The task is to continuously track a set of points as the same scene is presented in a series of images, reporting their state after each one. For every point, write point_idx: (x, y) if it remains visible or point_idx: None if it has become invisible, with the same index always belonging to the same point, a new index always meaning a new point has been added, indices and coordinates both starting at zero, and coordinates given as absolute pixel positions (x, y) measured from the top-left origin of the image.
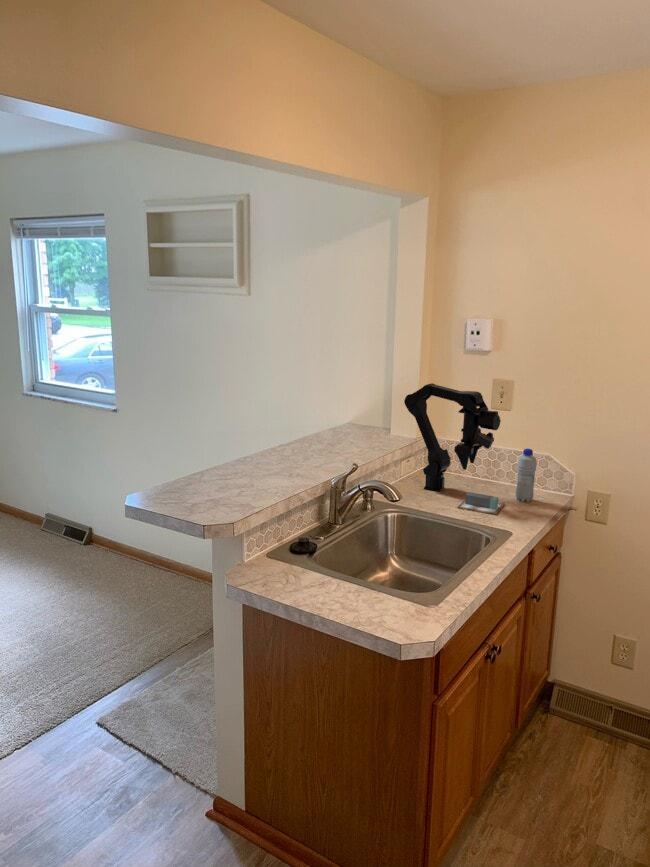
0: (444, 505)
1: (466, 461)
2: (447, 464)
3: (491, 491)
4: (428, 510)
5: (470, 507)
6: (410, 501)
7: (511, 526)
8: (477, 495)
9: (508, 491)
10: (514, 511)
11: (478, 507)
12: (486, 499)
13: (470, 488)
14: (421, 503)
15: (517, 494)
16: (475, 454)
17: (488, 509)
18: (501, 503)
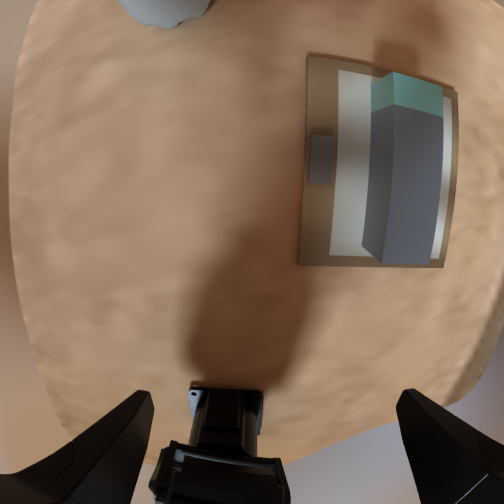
0: (420, 321)
1: (479, 440)
2: (213, 481)
3: (113, 178)
4: (468, 342)
5: (439, 212)
6: None
7: (500, 50)
8: (421, 198)
9: (77, 105)
10: (369, 16)
11: None
12: (439, 139)
13: (129, 287)
14: (414, 386)
15: (200, 3)
16: (101, 462)
17: None
18: (313, 70)
